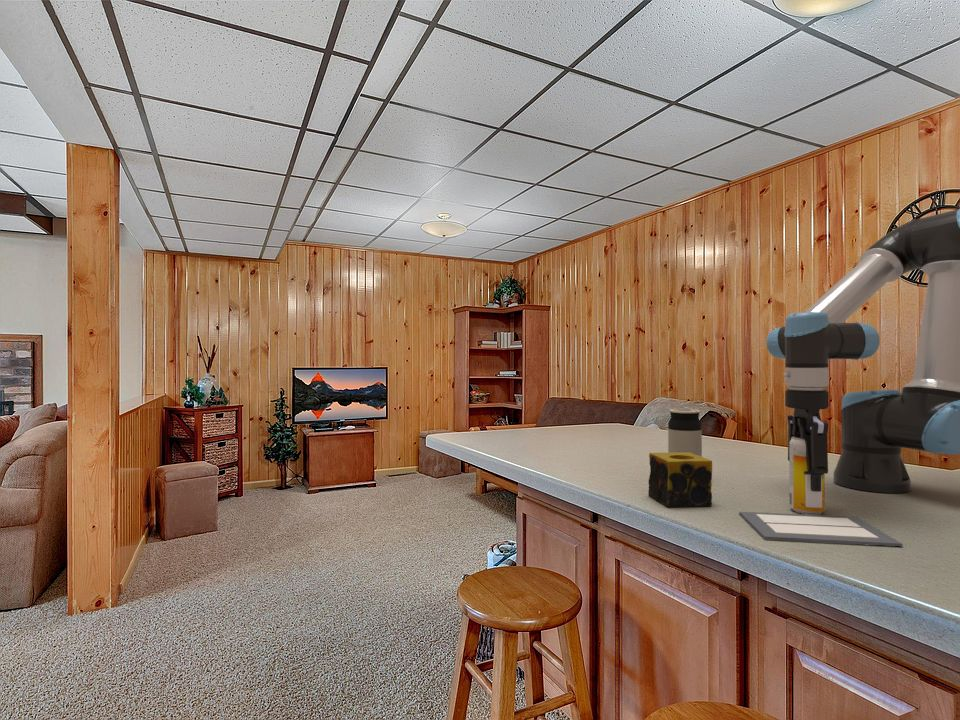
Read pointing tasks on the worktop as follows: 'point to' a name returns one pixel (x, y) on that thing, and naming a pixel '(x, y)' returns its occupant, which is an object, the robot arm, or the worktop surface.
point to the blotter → (816, 529)
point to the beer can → (801, 478)
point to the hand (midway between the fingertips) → (806, 502)
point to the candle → (680, 479)
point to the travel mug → (685, 431)
